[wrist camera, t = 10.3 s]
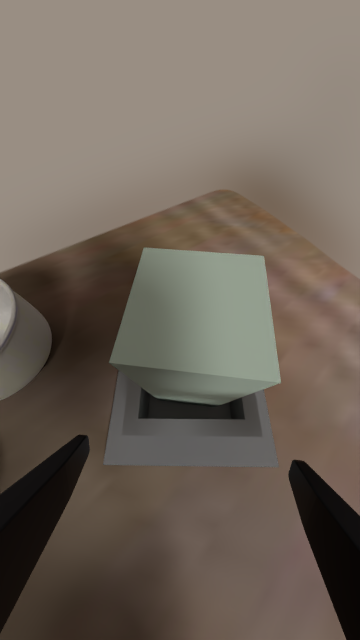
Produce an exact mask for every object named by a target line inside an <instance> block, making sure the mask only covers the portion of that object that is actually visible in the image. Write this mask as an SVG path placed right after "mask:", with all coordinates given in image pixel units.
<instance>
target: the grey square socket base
mask: <svg viewBox="0 0 360 640" xmlns="http://www.w3.org/2000/svg"><path fill="white" fill-rule="evenodd" d="M103 465H151V466H226V467H279V465H278V460H277V455H276V450H275V445H274V440H273V435H272V430H271V424H270V419H269V414H268V409H267V404H266V399H265V394H264V389H263V390H260V391H257V392H255V393H252V394H249V395H246V396H244V397H241V398H238V399H236V400H233V401H230V402H227V403H225V404H222V405H219V406H217V407H214V408H213V407H205V406H197V405H190V404H182V403H174V402H166V401H159V400H158V399H156V398H155V397H154V396H152V395H151V394H150V393H148V392H147V391H146V390H144V389H143V388H142V387H140V386H139V385H138V384H137V383H135V382H134V381H133V380H131V379H130V378H129V377H127V376H126V375H125V374H123V373H122V372H121V371H118V377H117V383H116V389H115V396H114V402H113V408H112V414H111V420H110V426H109V432H108V438H107V444H106V450H105V457H104V463H103Z"/></svg>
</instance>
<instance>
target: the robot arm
mask: <svg viewBox="0 0 360 640" xmlns="http://www.w3.org/2000/svg"><path fill="white" fill-rule="evenodd" d="M89 450H90V448H89V439H88V436H87V435H78V436H76V437H75V438H73V439H72V440H71V441H69V442H68V443H67V444H65V445H64V446H63V447H62V448H60V449H59V450H58V451H56V452H55V453H54V454H52V455H51V456H50V457H48V458H47V459H46V460H45V461H43V462H42V463H41V464H39V465H38V466H37V467H35V468H34V469H33V470H31V471H30V472H29V473H27V474H26V475H25V476H24V477H22V478H21V479H20V480H18V481H17V482H16V483H14V484H13V485H12V486H10V487H9V488H8V489H7V490H5V491H4V492H3V493H1V494H0V633H1V631H2V629H3V627H4V625H5V623H6V621H7V619H8V617H9V615H10V613H11V612H12V610H13V608H14V606H15V604H16V602H17V600H18V598H19V596H20V594H21V592H22V590H23V588H24V586H25V584H26V583H27V581H28V579H29V577H30V575H31V573H32V571H33V569H34V567H35V565H36V563H37V561H38V559H39V557H40V555H41V554H42V552H43V550H44V548H45V546H46V544H47V542H48V540H49V538H50V536H51V534H52V532H53V530H54V528H55V526H56V524H57V523H58V521H59V519H60V517H61V515H62V513H63V511H64V509H65V507H66V505H67V503H68V501H69V499H70V497H71V495H72V493H73V490H74V488H75V486H76V483H77V481H78V478H79V476H80V474H81V471H82V469H83V466H84V464H85V462H86V459H87V457H88V454H89ZM289 481H290V484H291V488H292V491H293V494H294V498H295V501H296V504H297V508H298V511H299V514H300V518H301V521H302V524H303V527H304V530H305V533H306V536H307V538H308V541H309V544H310V546H311V549H312V551H313V554H314V557H315V559H316V562H317V564H318V567H319V570H320V572H321V575H322V577H323V580H324V583H325V585H326V588H327V590H328V593H329V596H330V598H331V601H332V603H333V606H334V609H335V611H336V614H337V616H338V619H339V622H340V624H341V627H342V629H343V632H344V635H345V637H346V640H360V516H359V515H358V514H357V513H356V512H355V511H354V510H353V509H352V508H351V507H350V506H349V505H348V504H347V503H346V502H345V501H344V500H343V499H342V498H341V497H340V496H339V495H338V494H337V493H336V492H335V491H334V490H333V489H332V488H331V487H330V486H329V485H328V484H327V483H326V482H325V481H324V480H323V479H322V478H321V477H320V476H319V475H318V474H317V473H316V472H315V471H314V470H313V469H312V468H311V467H310V466H309V465H308V464H307V463H306V462H304V461H302V460H293V461H292V464H291V467H290V470H289Z"/></svg>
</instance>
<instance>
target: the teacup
mask: <svg viewBox="0 0 360 640" xmlns="http://www.w3.org/2000/svg"><path fill="white" fill-rule="evenodd" d="M51 345H52V334H51V330H50V327H49V324H48V322H47V321H46V319H45V318H44V317H43V315H42V314H41V313H40V312H39V311H38V310H37V309H36V308H34V307H33V306H32V305H31V304H30V303H29V302H27V301H26V300H25V299H24V298H22V297H21V296H20V295H18V294H17V293H16V292H14V291H13V290H12V289H11V287H10V286H9V285H8V284H7V283H6V282H4V281H3V280H1V279H0V400H3V399H5V398H7V397H9V396H11V395H13V394H15V393H16V392H18V391H19V390H21V389H22V388H23V387H25V386H26V385H27V384H28V383H30V382H31V381H32V380H33V379H34V378H35V377H36V376H37V374H38V373H39V372H40V370H41V369H42V368H43V366H44V364H45V363H46V361H47V359H48V356H49V354H50V350H51Z"/></svg>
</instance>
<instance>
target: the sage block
mask: <svg viewBox="0 0 360 640" xmlns="http://www.w3.org/2000/svg"><path fill="white" fill-rule="evenodd" d="M109 363H110V364H111V365H113V366H114V367H115V368H117V369H118V370H119V371H121V372H122V373H123V374H125V375H126V376H127V377H129V378H130V379H131V380H133V381H134V382H135V383H137V384H138V385H139V386H140V387H142V388H143V389H144V390H146V391H147V392H148V393H150V394H151V395H152V396H154V397H155V398H156V399H158V400H159V401H166V402H174V403H182V404H190V405H197V406H205V407H213V408H214V407H217V406H219V405H222V404H225V403H227V402H230V401H233V400H236V399H238V398H241V397H244V396H246V395H249V394H252V393H255V392H257V391H260V390H263V389H265V388H268V387H271V386H274V385H276V384H279V383H281V379H280V372H279V365H278V357H277V350H276V342H275V335H274V328H273V320H272V313H271V305H270V298H269V291H268V283H267V276H266V268H265V261H264V256H256V255H242V254H228V253H214V252H199V251H185V250H171V249H157V248H144V249H143V252H142V256H141V259H140V262H139V266H138V269H137V272H136V276H135V279H134V282H133V285H132V289H131V292H130V295H129V299H128V302H127V305H126V309H125V312H124V315H123V318H122V322H121V325H120V328H119V332H118V335H117V338H116V342H115V345H114V348H113V351H112V355H111V358H110V361H109Z"/></svg>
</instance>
